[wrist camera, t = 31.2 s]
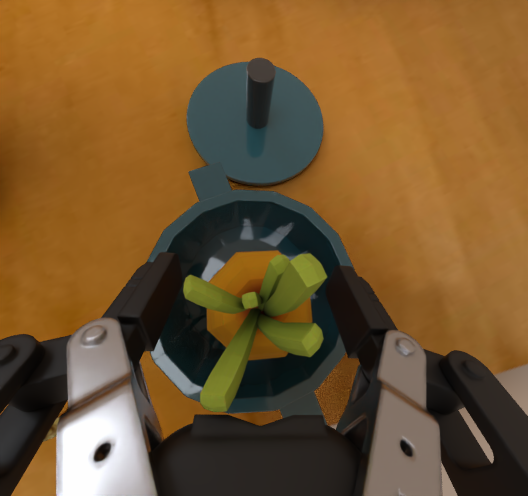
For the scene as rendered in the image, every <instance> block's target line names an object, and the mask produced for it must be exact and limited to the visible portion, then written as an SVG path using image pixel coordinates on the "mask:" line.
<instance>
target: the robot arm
mask: <svg viewBox="0 0 528 496" xmlns="http://www.w3.org/2000/svg"><path fill="white" fill-rule="evenodd" d="M181 285H182V272H181V266H180V260H179V256H178V254H177V253H166V252H160V253H159V254H158V255H157V257H156V258H155V260H154V261H153V262H147V263H145V264H144V265H142V266H141V267H140V268H138V269H137V270H136V272H135V273H134V274H133V276H132V277H131V279H130V280H129V281H128V283H127V284H126V287H124V288H123V289H122V291H121V292H120V293H119V295H118V296H117V297H116V299H115V300H114V301H113V303H112V304H111V305H110V307H109V308H108V310H107V311H106V312H105V314H104V315H103V316H102V317H101V318H100V319H96V320H93V321H91V322H89V323H87V324H85V325H83V326H82V327H80V328H79V329H78V330H77V331H76V332H75V333H74V334H73V335H69V336H65V337H60V338H56V339H51V340H47V341H43V342H38V341H37V340H36V339H35V338H34V337H33V336H31V335H27V334H20V335H14V336H10V337H7V338H4V339H2V340H0V413H1V412H2V411H3V410H4V408H5V407H6V406H7V405H8V404H9V405H8V406H7V407H6V409H5V410H4V411H3V412H2V414H1V415H0V496H11V494H12V493H13V491H14V489H15V487H16V486H17V484H18V482H19V481H20V479H21V477H22V476H23V474H24V472H25V471H26V469H27V467H28V466H29V464H30V462H31V461H32V459H33V457H34V455H35V454H36V452H37V450H38V449H39V447H40V445H41V444H42V442H43V440H44V439H45V437H46V435H47V434H48V432H49V430H50V429H51V427H52V425H53V424H54V422H55V420H56V418H57V417H58V415H59V413H60V412H61V410H62V408H63V407H64V405H65V403H66V402H67V400H68V409H67V412H66V413H64V414H62V415H61V417H60V418H59V421H58V425H57V470H56V496H442V476H441V475H442V474H441V462H442V464H443V466H444V468H445V470H446V472H447V474H448V476H449V478H450V480H451V482H452V484H453V487H454V488H455V491H456V493H457V495H458V496H528V416H527V415H526V414H525V412H524V411H523V410H522V409H521V408H520V407H519V405H518V404H517V403H516V402H515V400H514V399H513V398H512V397H511V396H510V394H509V393H508V392H507V391H506V390H505V388H504V387H503V386H502V385H501V384H500V383H499V381H498V380H497V379H496V378H495V376H494V375H493V374H492V373H491V371H490V370H489V369H488V368H487V367H486V366H485V365H484V364H482V363H481V362H480V361H479V360H477V359H476V358H474V357H473V356H471V355H469V354H467V353H465V352H462V351H457V350H454V351H451V352H450V353H448V354H447V355H446V356H443V355H440V354H437V353H434V352H431V351H428V350H425V349H423V348H422V347H421V346H420V344H419V343H418V342H417V341H416V340H415V339H413V338H412V337H411V336H409V335H408V334H406V333H404V332H401V331H398V329H397V328H396V326H395V325H394V323H393V322H392V320H391V318H390V317H389V315H388V314H387V312H386V310H385V309H384V307H383V306H382V304H381V302H379V299H378V298H377V296H376V295H375V294H374V291H373V290H372V288H371V286H370V285H369V284H368V283H367V282H366V281H365V280H364V279H363V278H362V277H358V276H357V274H356V272H355V270H354V269H353V267H351V266H340V265H336V266H335V267H334V269H333V271H332V274H331V276H330V278H329V281H328V283H327V286H326V297H327V300H328V303H329V305H330V308H331V311H332V314H333V317H334V319H335V322H336V325H337V328H338V330H339V333H340V336H341V339H342V342H343V344H344V347H345V350H346V353H347V355H348V358H358V359H359V362H360V365H359V366H358V369H357V372H356V376H355V379H354V382H353V386H352V389H351V393H350V396H349V400H348V403H347V406H346V408H345V411H344V412H343V414H342V416H341V418H340V420H339V422H338V425H337V428H336V430H335V429H334V428H332V427H330V426H328V425H325V422H324V418H323V415H291V416H288V417H286V418H283V419H280V420H277V421H275V422H272V423H269V424H266V425H263V426H258V425H255V424H252V423H249V422H247V421H244V420H241V419H238V418H235V417H232V416H230V415H195V416H194V421H193V423H192V424H189V425H187V426H185V427H183V428H181V429H179V430H177V431H176V432H174V433H172V434H171V435H169V436H168V437H167V438H166V439H165V440H164V437H163V434H162V430H161V427H160V424H159V421H158V418H157V416H156V413H155V411H154V408H153V405H152V402H151V398H150V395H149V392H148V388H147V385H146V381H145V378H144V374H143V371H142V367H141V364H140V359H141V356H142V354H143V352H144V351H154V350H155V347H156V345H157V343H158V340H159V338H160V335H161V333H162V331H163V328H164V326H165V324H166V321H167V319H168V317H169V314H170V312H171V310H172V307H173V305H174V303H175V300H176V298H177V295H178V293H179V291H180V288H181ZM464 407H465V408H466V410H467V411H468V413H469V414H470V416H471V417H472V419H473V420H474V422H475V423H476V425H477V427H478V428H479V430H480V431H481V433H482V434H483V436H484V437H485V439H486V441H487V442H488V444H489V445H490V447H491V449H492V451H493V455H494V461H493V463H491V462H490V461H489V459H488V458H487V456H486V455H485V453H484V451H483V450H482V448H481V447H480V445H479V443H478V442H477V440H476V438H475V437H474V435H473V434H472V432H471V430H470V429H469V427H468V425H467V424H466V422H465V421H464V419H463V417H462V416H461V414H460V412H459V411H458V410H459V409H462V408H464Z"/></svg>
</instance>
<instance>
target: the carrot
mask: <svg viewBox="0 0 528 496" xmlns="http://www.w3.org/2000/svg"><path fill="white" fill-rule="evenodd" d="M326 278H327V275H326V273H325V271H324V269H323V267H322V265H321V263H320V262H319V261H318V260H317V259H316V258H315V257H314V256H313V255H311V254H310V253H309V254H300V255H299V256H297V257H295V258H294V259H292V260H291V261H290V260H289V259H288V258H287V257H286V256H285V255H284V254H283V255H282V254H281V253H280V252H279V251H278V250H276V251H252V252H236V253H235V254H234V255H233V256H232V257H231V258H230V259H229V260H228V262H227V263H226V264H225V265H224V266H223V267H222V268H221V269H220V270H219V271H218V272H217V273H216V274H215V275H214V276H213V277H212V278H211V280H210V281H209V282H207V281H205V280H203V279H200V278H198V277H195V276H193V275H189V276H188V277H186V278H185V282H184V287H183V292H184V295H185V298H186V299H188V300H189V301H191V302H193V303H195V304H197V305H200V306H203V307H205V308H207V330H208V331H209V332H210V333H211V334H212V335H213V336H214V337H215V338H217V339H218V340H219V341H220V342H221V343H222V344H223V345H224V346H225V347H226V349H225V351H224V353H223V354H222V356H221V357H220V359H219V361H218V362H217V364H216V365H215V367H214V369H213V370H212V372H211V374H210V375H209V377H208V379H207V381H206V383H205V385H204V387H203V389H202V391H201V393H200V403H201V405H202V406H203V408H204V409H207V410H210V411H213V412H225V411H228V409H229V407H230V405H231V403H232V401H233V399H234V397H235V395H236V393H237V390H238V388H239V385H240V383H241V380H242V378H243V375H244V372H245V368H246V365H247V362H248V360H258V359H268V358H278V357H285V356H286V355H287V354H288V353H292V354H295V355H301V356H307V357H311V356H312V355H313V354H314V353H315V352H316V351H317V350H318V349H319V348H320V346H321V343H322V341H323V339H324V338H323V334H322V330H321V329H320V328H319V327H318V326H317V324H316V323H312V311H311V300H310V296H311V295H312V294H313V293H315V292H316V291H317V289H318V288H319V287H320V286H321V284H322V283H323V282H324V281H325V279H326Z"/></svg>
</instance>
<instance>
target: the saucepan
mask: <svg viewBox="0 0 528 496" xmlns="http://www.w3.org/2000/svg"><path fill="white" fill-rule="evenodd" d="M188 173H189V175H190V178H191V181H192V183H193V186H194V188H195V191H196V194H197V196H198V199H199V201H200V202H197V203H195V204H194V205H193V206H192V207H191V208H189V209H188V210H187V211H186V212H185V213H184V214H182V215H181V216H180V217H179V218H178V219H176V220H175V221H174V222H173V223H172V224H170V225H169V226H168V227H167V228H166V229H165V230H164V231H163V233H162V234H161V236H160V238H159V240H158V242H157V244H156V246H155V248H154V249H153V251H152V253H151V255H150V257H149V259H148V261H147V262H153V261H154V260H155V258H156V257H157V255H158V254H159V253H160V252H166V253H177V254H178V256H179V260H180V266H181V272H182V285H181V288H180V291H179V293H178V295H177V298H176V300H175V303H174V305H173V307H172V310H171V312H170V314H169V317H168V319H167V321H166V324H165V326H164V328H163V331H162V333H161V335H160V338H159V340H158V343H157V345H156V347H155V350H154V351H150V354H151V357H152V360H154V363H155V364H156V365H157V366H158V367H159V368H160V369H161V370H162V371H163V372H164V374H165V375H166V376H167V377H168V378H169V379H170V380H171V381H172V382H173V383H174V384H175V386H176V387H177V388H178V389H179V390H180V391H181V392H182V393H183V394H184V395H186V397H188V398H191V399H193V400H196V401H198V402H200V393H201V391H202V389H203V387H204V385H205V383H206V381H207V379H208V377H209V375H210V374H211V372H212V370H213V369H214V367H215V365H216V364H217V362H218V361H219V359H220V357H221V356H222V354H223V353H224V351H225V349H226V347H225V346H224V345H223V344H222V343H221V342H220V341H219V340H218V339H217V338H215V337H214V336H213V335H212V334H211V333H210V332H209V331H208V330H207V308H205V307H203V306H200V305H197V304H195V303H193V302H191V301H189V300H188V299H186V298H185V295H184V292H183V287H184V282H185V278H186V277H188V276H189V275H193V276H195V277H198V278H200V279H203V280H205V281H207V282H209V281H210V280H211V278H212V277H213V276H214V275H215V274H216V273H217V272H218V271H219V270H220V269H221V268H222V267H223V266H224V265H225V264H226V263H227V262H228V260H229V259H230V258H231V257H232V256H233V255H234V254H235V253H236V252H252V251H276V250H278V251H279V252H280V253H281V254H282V255H283V254H284V255H285V256H286V257H287V258H288V259H289V260H290V261H291V260H292V259H294V258H295V257H297V256H299V255H300V254H309V253H310V254H311V255H313V256H314V257H315V258H316V259H317V260H318V261H319V262H320V263H321V265H322V267H323V269H324V271H325V273H326V275H327V278H326V279H325V281H324V282H323V283H322V284H321V286H320V287H319V288H318V289H317V291H316V292H315V293H313V294H312V295H311V296H310V300H311V311H312V323H316V324H317V326H318V327H319V328H320V329H321V330H322V334H323V338H324V339H323V341H322V343H321V346H320V348H319V349H318V350H317V351H316V352H315V353H314V354H313V355H312V356H311V357H307V356H301V355H295V354H292V353H288V354H287V355H286V356H285V357H278V358H268V359H258V360H248V362H247V365H246V368H245V372H244V375H243V378H242V380H241V383H240V385H239V388H238V390H237V393H236V395H235V397H234V399H233V401H232V403H231V405H230V407H229V409H228V411H225V412H226V413H228V414H229V413H231V414H233V413H249V412H265V411H276V410H279V409H280V412H281V414H282V417H283V418H286V417H288V416H291V415H323V412H322V410H321V407H320V405H319V403H318V400H317V398H316V395H315V393H314V390H316V389H317V388H319V386H320V385H321V384H322V383H323V381H324V380H325V379H326V378H327V376H328V375H329V374H330V373H331V371H332V370H333V369H334V368H335V366H336V365H337V364H338V363H339V361H340V360H341V359H342V358H343V356H344V355H345V353H346V350H345V347H344V344H343V342H342V339H341V336H340V333H339V330H338V328H337V325H336V322H335V319H334V317H333V314H332V311H331V308H330V305H329V303H328V300H327V297H326V286H327V283H328V281H329V278H330V276H331V274H332V271H333V269H334V267H335V266H336V265H340V266H351V267H353V265H352V263H351V261H350V259H349V257H348V254H347V252H346V250H345V248H344V246H343V244H342V241H341V239H340V237H339V235H338V234H337V233H336V232H335V231H334V230H333V229H332V228H331V227H330V226H329V225H328V224H327V223H326V222H325V221H324V220H323V219H322V218H321V217H320V216H319V215H318V214H317V213H316V212H315V211H314V210H313V209H312V208H311V207H309V206H307V205H305V204H302V203H300V202H298V201H295V200H293V199H291V198H289V197H286V196H284V195H282V194H279V193H277V192H274V191H256V190H232V189H231V187H230V184H229V182H228V179H227V177H226V175H225V172H224V170H223V167H222V165H221V162H218V163H214V164H211V165H208V166H205V167H202V168H198V169H195V170H192V171H189V172H188ZM147 262H146V263H147ZM353 269H354V267H353ZM354 270H355V269H354ZM323 418H324V422H325V425H327V422H326V420H325V417H324V415H323Z"/></svg>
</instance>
